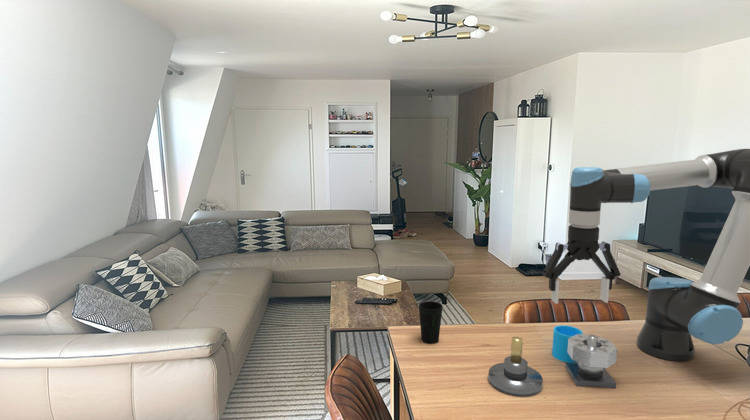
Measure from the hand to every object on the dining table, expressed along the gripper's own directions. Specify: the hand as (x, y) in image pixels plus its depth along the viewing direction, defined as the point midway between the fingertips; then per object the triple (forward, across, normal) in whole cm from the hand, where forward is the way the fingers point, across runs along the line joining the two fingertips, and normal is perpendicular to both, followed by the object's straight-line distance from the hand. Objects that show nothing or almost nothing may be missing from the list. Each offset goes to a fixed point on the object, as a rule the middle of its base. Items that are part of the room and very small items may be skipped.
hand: (579, 301), depth 123 cm
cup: (+21, +38, -22) cm, 49 cm away
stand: (+21, -3, +2) cm, 22 cm away
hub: (+21, +18, +4) cm, 28 cm away
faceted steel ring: (+15, -3, +2) cm, 16 cm away
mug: (+22, -2, -12) cm, 25 cm away
